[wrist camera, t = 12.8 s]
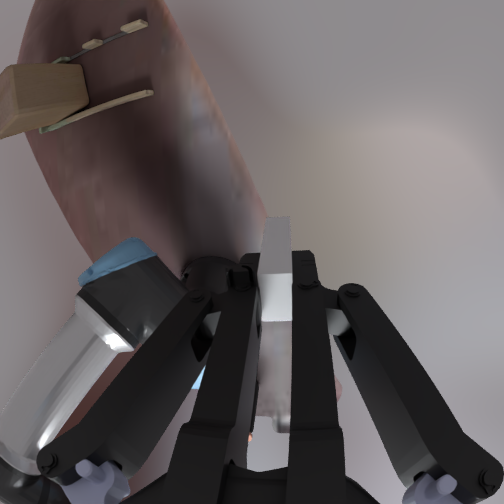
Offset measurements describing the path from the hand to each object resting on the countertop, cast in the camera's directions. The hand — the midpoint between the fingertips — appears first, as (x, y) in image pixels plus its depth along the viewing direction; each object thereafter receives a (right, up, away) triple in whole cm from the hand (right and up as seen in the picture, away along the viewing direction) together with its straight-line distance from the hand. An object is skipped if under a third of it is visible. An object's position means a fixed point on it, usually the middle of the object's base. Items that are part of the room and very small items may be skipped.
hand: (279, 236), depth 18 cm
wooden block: (-39, +31, +22) cm, 54 cm away
